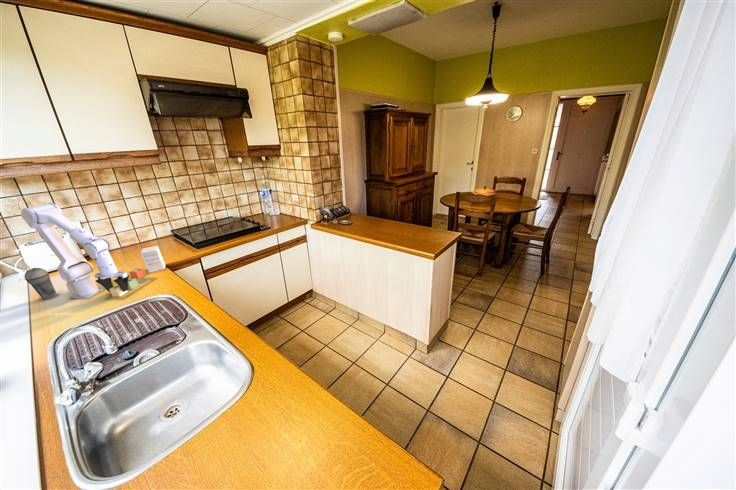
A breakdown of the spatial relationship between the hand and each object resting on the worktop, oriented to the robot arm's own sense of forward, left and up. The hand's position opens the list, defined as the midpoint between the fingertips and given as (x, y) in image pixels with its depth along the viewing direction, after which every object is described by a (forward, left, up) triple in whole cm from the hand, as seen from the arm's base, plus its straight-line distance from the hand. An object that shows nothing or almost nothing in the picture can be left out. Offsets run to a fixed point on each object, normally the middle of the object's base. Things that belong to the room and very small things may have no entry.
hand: (118, 290), depth 125 cm
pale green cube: (0, +6, -2) cm, 6 cm away
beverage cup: (-36, -2, -3) cm, 36 cm away
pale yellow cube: (0, 0, -2) cm, 2 cm away
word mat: (0, +6, -2) cm, 6 cm away
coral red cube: (-7, +17, -2) cm, 19 cm away
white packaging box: (-4, +26, -3) cm, 26 cm away
